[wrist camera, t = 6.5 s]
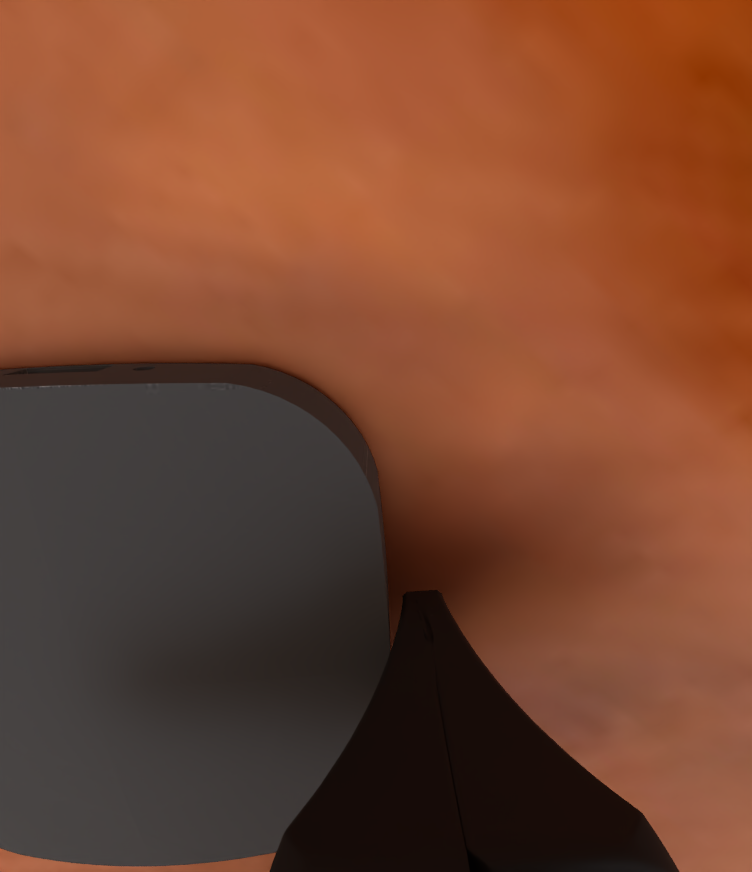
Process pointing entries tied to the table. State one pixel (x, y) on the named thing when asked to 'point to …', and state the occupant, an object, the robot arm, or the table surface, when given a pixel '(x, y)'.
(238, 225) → the table surface
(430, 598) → the robot arm
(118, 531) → the media streaming box
